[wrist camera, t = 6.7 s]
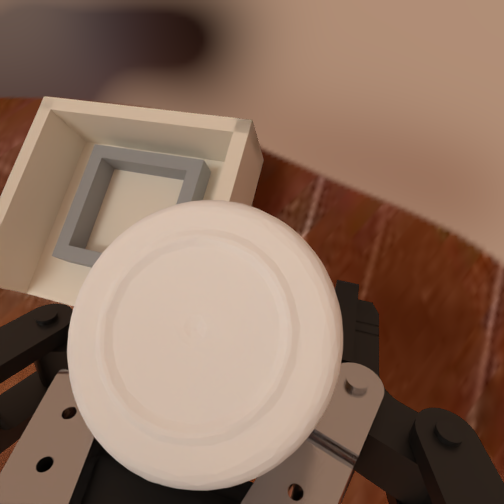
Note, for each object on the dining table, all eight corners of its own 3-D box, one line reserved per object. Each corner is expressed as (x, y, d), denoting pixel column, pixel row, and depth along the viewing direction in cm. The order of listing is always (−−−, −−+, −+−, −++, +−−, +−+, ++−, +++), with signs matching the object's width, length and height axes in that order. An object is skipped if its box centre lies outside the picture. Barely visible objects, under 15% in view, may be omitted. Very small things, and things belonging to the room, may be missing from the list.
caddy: (23, 292, 28) (-36, 279, 23) (85, 135, 31) (44, 96, 27) (214, 343, 24) (189, 341, 20) (263, 160, 28) (252, 119, 23)
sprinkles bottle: (272, 413, 17) (164, 584, 5) (213, 340, 19) (5, 318, 6) (341, 348, 18) (417, 342, 5) (278, 281, 19) (211, 139, 6)
